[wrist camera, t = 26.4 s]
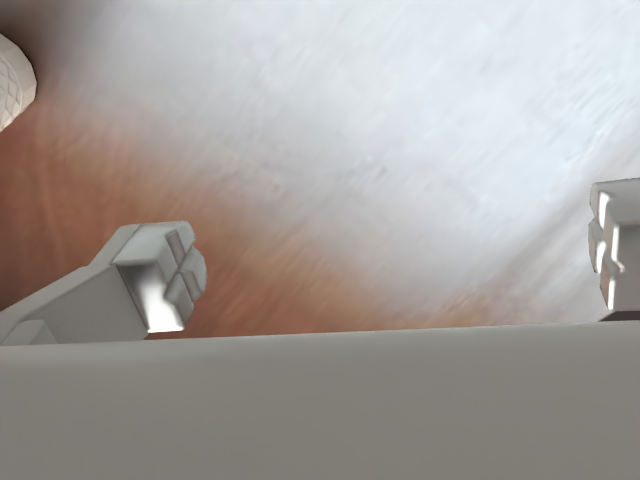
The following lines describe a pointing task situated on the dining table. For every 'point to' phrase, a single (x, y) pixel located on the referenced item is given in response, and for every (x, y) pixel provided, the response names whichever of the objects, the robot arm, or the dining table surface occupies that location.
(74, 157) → the dining table surface
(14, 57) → the white cup
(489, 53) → the dining table surface
